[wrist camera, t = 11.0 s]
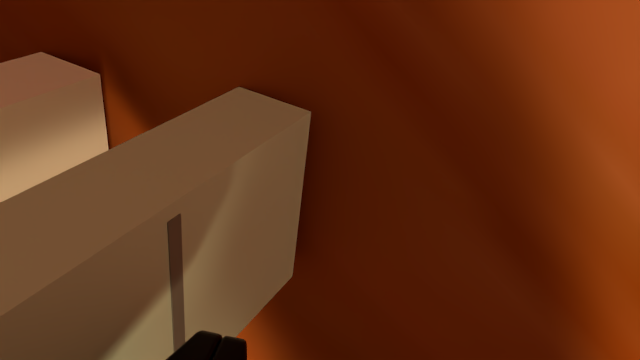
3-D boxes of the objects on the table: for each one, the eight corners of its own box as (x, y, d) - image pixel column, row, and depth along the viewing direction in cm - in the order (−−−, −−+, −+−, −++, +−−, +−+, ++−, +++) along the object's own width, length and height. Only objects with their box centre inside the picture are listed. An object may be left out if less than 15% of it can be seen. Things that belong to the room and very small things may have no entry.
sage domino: (312, 112, 12) (-148, 416, 5) (293, 276, 15) (-27, 621, 8) (238, 86, 13) (-251, 322, 6) (232, 247, 15) (-109, 539, 9)
